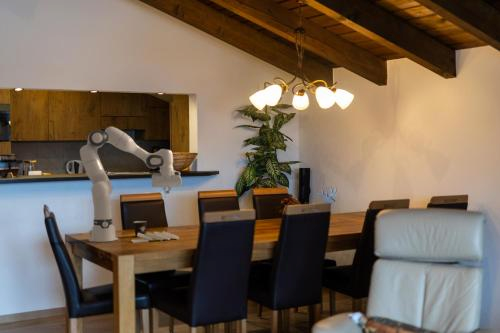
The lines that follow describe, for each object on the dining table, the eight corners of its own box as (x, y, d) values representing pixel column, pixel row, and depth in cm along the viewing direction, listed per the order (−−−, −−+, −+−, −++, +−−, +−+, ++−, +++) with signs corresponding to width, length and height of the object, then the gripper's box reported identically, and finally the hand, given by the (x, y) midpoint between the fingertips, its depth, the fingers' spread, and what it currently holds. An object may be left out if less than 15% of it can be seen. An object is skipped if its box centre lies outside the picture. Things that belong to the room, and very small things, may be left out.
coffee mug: (134, 237, 453) (133, 222, 453) (133, 235, 462) (133, 221, 462) (151, 236, 456) (151, 222, 455) (150, 235, 464) (150, 220, 464)
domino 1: (146, 241, 438) (131, 242, 434) (146, 238, 438) (131, 239, 434) (148, 242, 434) (133, 243, 429) (148, 239, 433) (133, 240, 429)
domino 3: (160, 239, 441) (146, 234, 437) (161, 237, 441) (147, 232, 437) (162, 240, 436) (148, 235, 433) (163, 237, 436) (149, 232, 433)
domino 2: (151, 240, 440) (136, 235, 438) (152, 237, 440) (137, 232, 438) (152, 240, 435) (137, 235, 433) (153, 237, 435) (138, 232, 433)
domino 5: (175, 238, 445) (161, 233, 440) (176, 235, 445) (163, 231, 441) (178, 239, 441) (164, 234, 436) (179, 236, 441) (165, 232, 436)
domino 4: (167, 239, 442) (153, 234, 439) (168, 236, 443) (154, 231, 439) (169, 240, 438) (155, 235, 434) (170, 237, 438) (156, 232, 434)
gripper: (153, 173, 445) (153, 194, 446) (182, 172, 454) (182, 193, 454) (150, 173, 451) (150, 194, 451) (179, 172, 460) (179, 192, 460)
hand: (167, 193), depth 453 cm, fingers closed
